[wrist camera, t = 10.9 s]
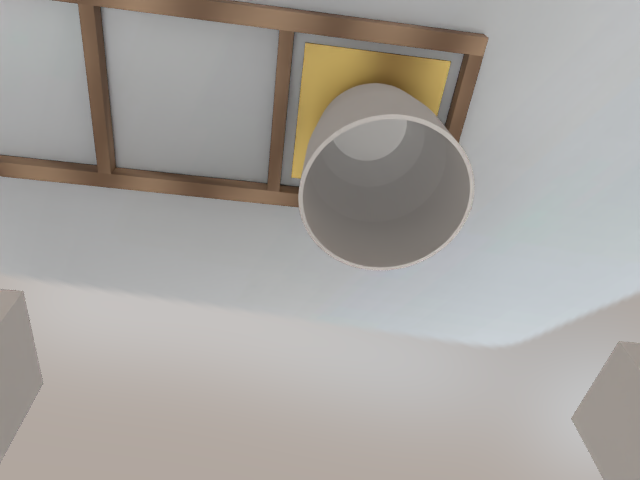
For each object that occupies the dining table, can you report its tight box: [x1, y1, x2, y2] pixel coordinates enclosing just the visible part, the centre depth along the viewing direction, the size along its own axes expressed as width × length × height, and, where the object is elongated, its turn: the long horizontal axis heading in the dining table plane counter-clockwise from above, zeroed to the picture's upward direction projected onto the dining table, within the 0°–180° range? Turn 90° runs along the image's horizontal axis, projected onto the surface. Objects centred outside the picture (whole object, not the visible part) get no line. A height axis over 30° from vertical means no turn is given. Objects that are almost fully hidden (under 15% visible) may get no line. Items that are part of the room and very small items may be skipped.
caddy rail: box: [0, 0, 488, 207], centre depth 31 cm, size 33×12×1 cm, turn 83°
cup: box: [298, 83, 474, 270], centre depth 28 cm, size 8×8×10 cm
